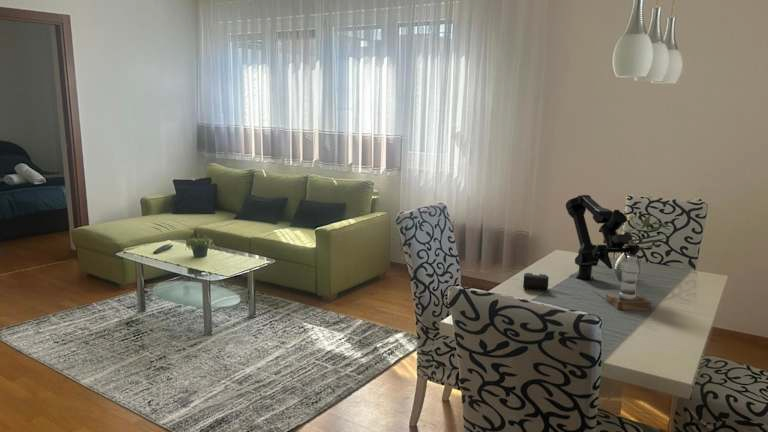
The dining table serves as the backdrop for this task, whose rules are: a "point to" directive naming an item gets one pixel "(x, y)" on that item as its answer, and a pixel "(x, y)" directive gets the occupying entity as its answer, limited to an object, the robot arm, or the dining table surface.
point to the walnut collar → (629, 303)
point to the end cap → (535, 282)
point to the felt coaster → (604, 292)
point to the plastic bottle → (629, 279)
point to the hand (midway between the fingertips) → (621, 268)
